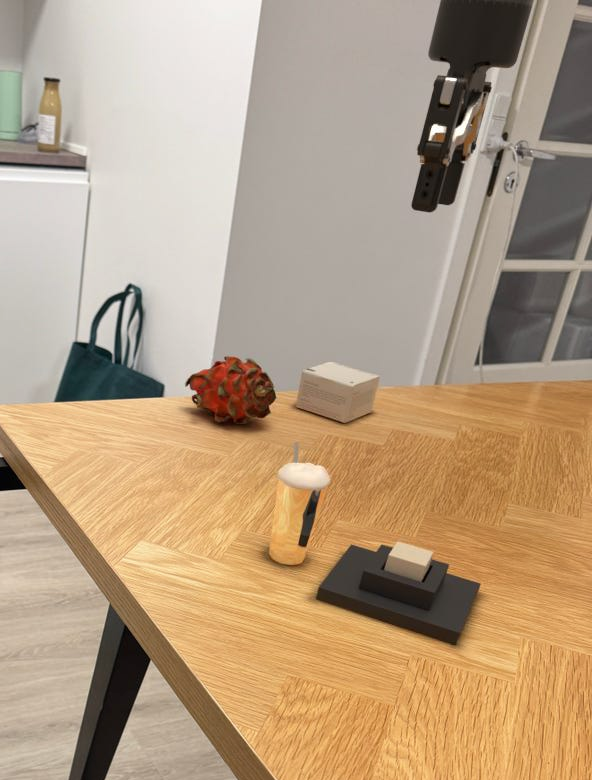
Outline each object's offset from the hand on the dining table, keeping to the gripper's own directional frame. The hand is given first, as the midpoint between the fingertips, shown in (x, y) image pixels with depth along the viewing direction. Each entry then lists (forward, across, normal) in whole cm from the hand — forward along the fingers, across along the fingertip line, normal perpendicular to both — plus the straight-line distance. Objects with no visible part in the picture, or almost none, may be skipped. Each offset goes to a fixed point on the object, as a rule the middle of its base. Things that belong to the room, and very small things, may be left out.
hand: (432, 207), depth 85 cm
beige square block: (+26, -24, -10) cm, 36 cm away
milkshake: (+28, -23, +1) cm, 36 cm away
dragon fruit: (+28, +8, +20) cm, 36 cm away
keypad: (+28, -24, -10) cm, 38 cm away
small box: (+28, +22, +10) cm, 37 cm away
